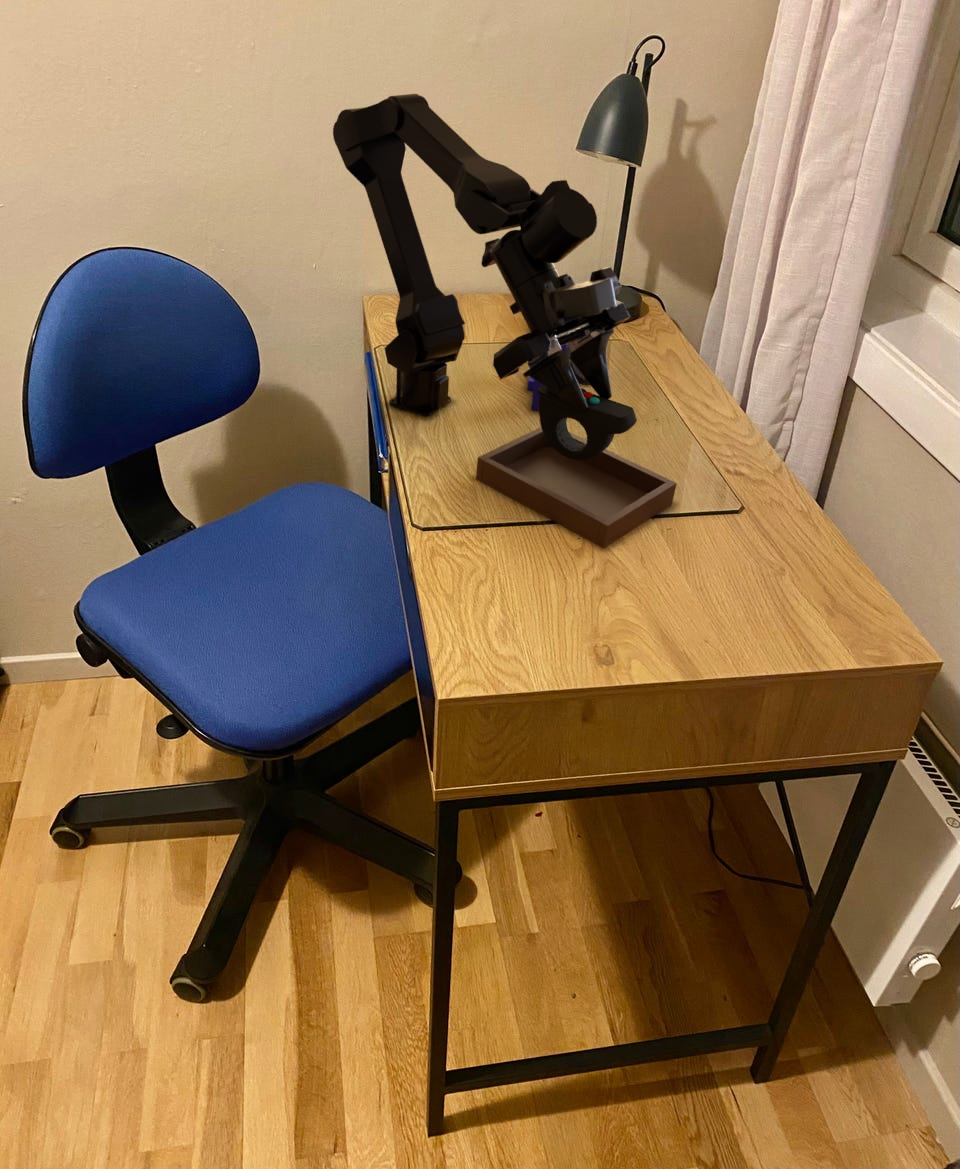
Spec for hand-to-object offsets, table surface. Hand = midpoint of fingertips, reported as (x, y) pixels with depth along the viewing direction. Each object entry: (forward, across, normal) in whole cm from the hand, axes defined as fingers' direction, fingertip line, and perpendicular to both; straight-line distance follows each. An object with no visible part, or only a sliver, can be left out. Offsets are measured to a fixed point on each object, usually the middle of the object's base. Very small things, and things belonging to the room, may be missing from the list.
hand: (596, 404), depth 110 cm
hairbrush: (-11, +33, +29) cm, 45 cm away
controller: (+5, 0, +6) cm, 8 cm away
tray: (+8, 0, +10) cm, 12 cm away
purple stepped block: (-6, +18, +24) cm, 31 cm away
